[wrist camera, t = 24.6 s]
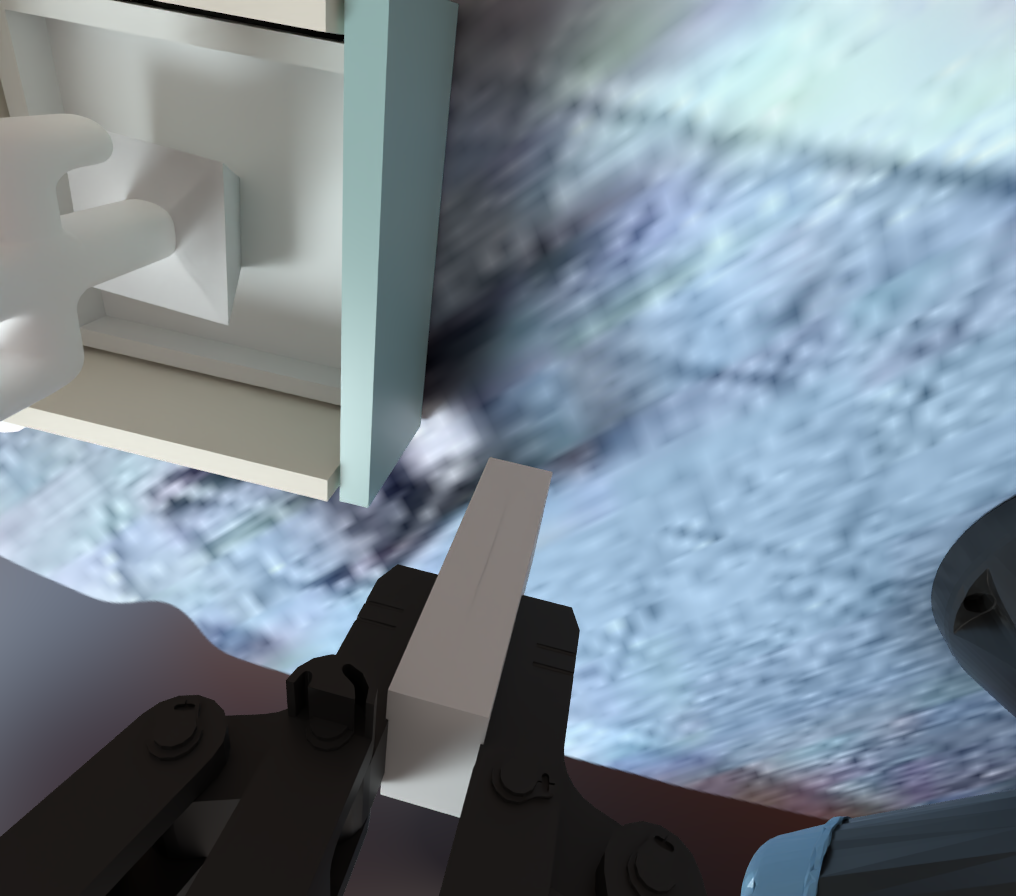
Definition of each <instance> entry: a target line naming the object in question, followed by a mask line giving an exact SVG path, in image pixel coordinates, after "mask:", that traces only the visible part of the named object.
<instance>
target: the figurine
mask: <svg viewBox="0 0 1016 896" xmlns="http://www.w3.org/2000/svg"><path fill="white" fill-rule="evenodd" d="M65 173H68V179H69V185H70V191H71V198H72V204H73V210H74V212H73V213H69V214H65V215H61V216H60V212H59V206H58V201H57V195H56V185H57V182H58V181H59V179H60V178H61V177H62V176H63V175H64V174H65ZM240 271H241V228H240V182H239V177H238V176H237V175H236V174H235V173H234V172H232V171H231V170H230V169H229V168H228V167H227V166H226V165H225V164H224V163H222V162H219V161H215V160H211V159H208V158H204V157H200V156H197V155H193V154H190V153H186V152H182V151H179V150H175V149H171V148H168V147H164V146H160V145H157V144H153V143H149V142H146V141H142V140H138V139H135V138H131V137H127V136H124V135H120V134H116V133H113V132H109V131H106V130H105V129H104V128H103V127H102V126H101V125H99V124H98V123H96V122H95V121H93V120H91V119H89V118H86V117H83V116H79V115H75V114H48V115H34V116H20V117H6V118H0V422H1V421H3V420H5V419H7V418H9V417H10V416H12V415H14V414H16V413H18V412H20V411H21V410H23V409H25V408H27V407H29V406H31V405H32V404H34V403H36V402H38V401H40V400H42V399H44V398H45V397H47V396H49V395H51V394H53V393H54V392H56V391H58V390H59V389H61V388H63V387H64V386H66V385H67V384H68V383H70V382H71V381H72V380H73V379H74V378H75V377H76V376H77V375H78V374H79V372H80V371H81V369H82V367H83V363H84V349H83V344H82V338H81V332H80V326H79V321H78V315H77V303H78V300H79V299H80V297H81V295H82V294H83V293H84V292H85V291H86V290H87V289H88V288H90V287H94V288H98V289H101V290H105V291H108V292H112V293H115V294H119V295H122V296H126V297H129V298H133V299H136V300H140V301H143V302H147V303H150V304H154V305H157V306H161V307H164V308H168V309H171V310H175V311H178V312H182V313H185V314H189V315H192V316H196V317H199V318H203V319H206V320H210V321H213V322H217V323H220V324H224V325H228V326H229V321H230V317H231V312H232V307H233V303H234V298H235V294H236V289H237V285H238V280H239V276H240Z"/></svg>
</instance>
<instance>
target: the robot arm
mask: <svg viewBox="0 0 1016 896" xmlns="http://www.w3.org/2000/svg"><path fill="white" fill-rule="evenodd" d="M551 477H552V472H550V471H546V470H541V469H537V468H533V467H529V466H524V465H520V464H516V463H512V462H508V461H503V460H499V459H495V458H491V457H490V458H489V460H488V462H487V464H486V467H485V469H484V471H483V474H482V476H481V478H480V480H479V483H478V485H477V487H476V490H475V492H474V494H473V496H472V499H471V501H470V503H469V506H468V508H467V510H466V513H465V515H464V517H463V519H462V522H461V524H460V526H459V529H458V531H457V533H456V535H455V538H454V540H453V542H452V545H451V547H450V549H449V551H448V554H447V556H446V558H445V561H444V563H443V565H442V567H441V570H440V572H439V574H438V575H437V574H433V573H429V572H425V571H421V570H417V569H414V568H410V567H406V566H402V565H398V564H397V565H396V566H395V567H393V568H392V569H391V570H390V571H388V572H387V573H386V574H384V575H383V576H382V577H380V578H379V579H378V580H377V582H376V584H375V585H374V587H373V589H372V591H371V593H370V594H369V596H368V598H367V601H366V604H364V605H363V607H362V609H361V611H360V613H359V614H358V616H357V620H356V621H355V622H354V623H353V625H352V627H351V629H350V631H349V632H348V634H347V636H346V638H345V640H344V641H343V643H342V645H341V647H340V649H339V650H338V652H337V654H336V655H333V654H331V655H326V656H322V657H317V658H313V659H311V660H310V661H308V662H306V663H304V664H303V665H301V666H299V667H298V668H297V669H296V670H295V671H294V672H293V673H292V674H291V675H290V676H289V678H288V679H287V680H286V689H287V704H288V709H286V710H283V711H280V712H276V713H269V714H258V715H236V716H235V715H234V716H225V713H224V710H223V709H222V708H221V707H220V706H219V705H218V704H217V703H216V702H215V701H214V700H211V699H209V698H206V697H202V696H200V695H189V696H188V695H187V696H177V697H174V698H171V699H168V700H166V701H163V702H160V703H158V704H157V705H155V706H154V707H152V708H151V709H149V710H148V711H146V712H145V713H143V714H142V715H141V716H139V717H138V718H137V719H136V720H135V721H134V722H133V723H131V724H130V725H129V726H128V727H127V728H126V729H124V730H123V731H122V732H121V733H120V734H119V735H117V736H116V737H115V738H114V739H113V740H112V741H111V742H109V743H108V744H107V745H106V746H105V747H104V748H102V749H101V750H100V751H99V752H98V753H97V754H96V755H94V756H93V757H92V758H91V759H90V760H89V761H87V762H86V763H85V764H84V765H83V766H82V767H81V768H79V769H78V770H77V771H76V772H75V773H74V774H72V775H71V776H70V777H69V778H68V779H67V780H66V781H64V782H63V783H62V784H61V785H60V786H59V787H58V788H56V789H55V790H54V791H53V792H52V793H50V794H49V795H48V796H47V797H46V798H45V799H44V800H42V801H41V802H40V803H39V804H38V805H37V806H35V807H34V808H33V809H32V810H31V811H30V812H29V813H27V814H26V815H25V816H24V817H23V818H22V819H20V820H19V821H18V822H17V823H16V824H15V825H13V826H12V827H11V828H10V829H9V830H8V831H7V832H5V833H4V834H3V835H2V836H1V837H0V896H343V894H344V892H345V889H346V887H347V884H348V881H349V879H350V876H351V874H352V871H353V868H354V865H355V863H356V860H357V858H358V855H359V852H360V850H361V847H362V845H363V842H364V839H365V836H366V834H367V831H368V825H369V819H370V810H371V807H372V804H373V802H374V799H375V796H376V794H377V791H378V789H379V786H380V784H381V793H380V794H381V795H385V796H388V797H392V798H395V799H398V800H402V801H405V802H409V803H412V804H416V805H419V806H422V807H426V808H430V809H433V810H436V811H439V812H443V813H446V814H450V815H453V816H456V817H460V819H459V823H458V826H457V830H456V834H455V838H454V842H453V845H452V849H451V853H450V857H449V860H448V864H447V868H446V872H445V876H444V879H443V883H442V887H441V890H440V894H439V896H707V894H706V890H705V887H704V883H703V879H702V875H701V873H700V871H699V868H698V866H697V864H696V862H695V859H694V857H693V855H692V853H691V852H690V851H689V850H688V848H687V847H686V846H685V845H684V844H683V842H682V841H681V840H680V839H679V838H678V837H677V836H676V835H674V834H672V833H671V832H669V831H668V830H667V829H665V828H663V827H662V826H660V825H656V824H652V823H648V822H644V821H641V822H635V823H629V824H625V825H624V826H621V825H620V824H619V823H617V822H616V821H614V820H613V819H611V818H610V817H608V816H607V815H605V814H604V813H602V812H601V811H599V810H598V809H596V808H595V807H594V806H592V805H591V804H590V803H589V802H588V801H587V800H585V799H584V798H583V797H582V796H581V794H580V793H579V792H578V791H577V789H576V788H575V787H574V785H573V783H572V781H571V779H570V778H569V775H568V774H567V770H566V766H565V762H564V743H565V736H566V728H567V721H568V714H569V706H570V699H571V691H572V684H573V674H574V669H575V661H576V654H577V646H578V639H579V631H580V630H579V627H578V624H577V621H576V618H575V615H574V613H573V610H572V607H568V606H564V605H560V604H556V603H552V602H548V601H544V600H540V599H537V598H533V597H529V596H525V595H524V593H525V589H526V585H527V581H528V577H529V573H530V569H531V565H532V561H533V556H534V552H535V548H536V543H537V539H538V534H539V530H540V525H541V521H542V517H543V512H544V508H545V503H546V499H547V494H548V490H549V486H550V481H551ZM931 603H932V611H933V615H934V618H935V621H936V624H937V626H938V628H939V630H940V632H941V634H942V635H943V637H944V639H945V641H946V643H947V645H948V647H949V649H950V650H951V652H952V654H953V656H954V657H955V659H956V660H957V661H958V663H959V664H960V665H961V666H962V668H963V669H964V670H965V671H966V672H967V673H968V674H969V675H970V676H971V677H972V678H973V679H974V680H975V681H976V682H977V683H978V684H979V685H980V686H982V687H983V688H984V689H985V690H986V691H987V692H988V693H989V694H990V695H991V696H993V697H994V698H995V699H996V700H997V701H998V702H999V703H1000V704H1001V705H1002V706H1004V707H1005V708H1006V709H1007V710H1008V711H1009V712H1010V713H1011V714H1012V715H1013V716H1015V717H1016V497H1015V498H1013V499H1012V500H1010V501H1008V502H1006V503H1004V504H1003V505H1001V506H999V507H998V508H996V509H995V510H993V511H991V512H990V513H989V514H987V515H986V516H984V517H983V518H981V519H980V520H979V521H978V522H977V523H975V524H974V525H973V526H972V527H971V528H969V529H968V530H967V531H966V532H965V533H964V534H963V535H962V536H961V537H960V538H959V539H958V540H957V541H956V543H955V544H954V545H953V546H952V548H951V549H950V550H949V552H948V553H947V554H946V556H945V558H944V559H943V561H942V563H941V564H940V567H939V569H938V571H937V573H936V576H935V579H934V583H933V587H932V594H931ZM741 896H1016V789H1011V790H1006V791H1000V792H995V793H989V794H984V795H978V796H973V797H967V798H962V799H956V800H951V801H945V802H940V803H934V804H929V805H923V806H918V807H912V808H907V809H901V810H895V811H890V812H884V813H879V814H873V815H868V816H862V817H857V818H850V817H841V816H840V817H833V818H832V819H830V820H829V821H828V822H827V823H826V824H824V825H820V826H816V827H812V828H808V829H804V830H799V831H795V832H791V833H788V834H783V835H779V836H776V837H774V838H772V839H770V840H769V841H767V842H766V843H764V844H763V845H762V846H761V847H760V848H759V849H758V851H757V852H756V853H755V855H754V856H753V858H752V860H751V862H750V864H749V866H748V868H747V871H746V874H745V877H744V881H743V884H742V891H741Z"/></svg>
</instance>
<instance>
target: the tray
mask: <svg viewBox="0 0 1016 896" xmlns="http://www.w3.org/2000/svg"><path fill="white" fill-rule="evenodd" d="M458 5H459V4H457V3H454V2H452V1H449V0H345V11H344V41H339V40H334V39H329V38H323V37H318V36H313V35H307V34H302V33H297V32H291V31H286V30H281V29H275V28H270V27H264V26H259V25H254V24H248V23H243V22H238V21H232V20H227V19H222V18H216V17H211V16H206V15H200V14H195V13H190V12H184V11H179V10H174V9H168V8H163V7H158V6H152V5H147V4H142V3H136V2H131V1H125V0H0V78H1V82H2V86H3V90H4V94H5V99H6V103H7V107H8V111H9V115H10V117H20V116H34V115H48V114H75V115H79V116H83V117H86V118H89V119H91V120H93V121H95V122H96V123H98V124H99V125H101V126H102V127H103V128H104V129H105V130H106V131H109V132H113V133H116V134H120V135H124V136H127V137H131V138H135V139H138V140H142V141H146V142H149V143H153V144H157V145H160V146H164V147H168V148H171V149H175V150H179V151H182V152H186V153H190V154H193V155H197V156H200V157H204V158H208V159H211V160H215V161H219V162H222V163H224V164H225V165H226V166H227V167H228V168H229V169H230V170H231V171H232V172H234V173H235V174H236V175H237V176H238V177H239V182H240V228H241V271H240V276H239V280H238V285H237V289H236V294H235V298H234V303H233V307H232V312H231V317H230V321H229V326H228V325H224V324H220V323H217V322H213V321H210V320H206V319H203V318H199V317H196V316H192V315H189V314H185V313H182V312H178V311H175V310H171V309H168V308H164V307H161V306H157V305H154V304H150V303H147V302H143V301H140V300H136V299H133V298H129V297H126V296H122V295H119V294H115V293H112V292H108V291H105V290H101V289H98V288H94V287H90V288H88V289H87V290H86V291H85V292H84V293H83V294H82V295H81V297H80V299H79V300H78V303H77V315H78V321H79V326H80V332H81V338H82V344H83V345H84V346H89V347H93V348H97V349H101V350H106V351H110V352H114V353H118V354H123V355H127V356H131V357H135V358H140V359H144V360H148V361H153V362H157V363H161V364H165V365H170V366H174V367H178V368H182V369H187V370H191V371H195V372H200V373H204V374H208V375H212V376H217V377H221V378H225V379H229V380H234V381H238V382H242V383H246V384H251V385H255V386H259V387H264V388H268V389H272V390H276V391H281V392H285V393H289V394H293V395H298V396H302V397H306V398H310V399H315V400H319V401H323V402H328V403H332V404H336V405H340V406H341V422H340V501H342V502H346V503H350V504H354V505H358V506H363V507H367V508H368V507H369V506H370V504H371V503H372V501H373V500H374V498H375V496H376V495H377V493H378V492H379V490H380V489H381V487H382V485H383V484H384V482H385V481H386V479H387V478H388V476H389V474H390V473H391V471H392V470H393V468H394V467H395V465H396V463H397V462H398V460H399V459H400V457H401V456H402V454H403V452H404V451H405V449H406V448H407V446H408V445H409V443H410V441H411V440H412V438H413V437H414V435H415V434H416V432H417V430H418V429H419V427H420V424H421V413H422V402H423V391H424V380H425V369H426V358H427V347H428V336H429V325H430V314H431V303H432V292H433V281H434V270H435V259H436V248H437V237H438V226H439V215H440V204H441V193H442V182H443V171H444V160H445V149H446V138H447V127H448V116H449V105H450V94H451V83H452V72H453V61H454V50H455V38H456V27H457V16H458ZM56 195H57V201H58V206H59V212H60V216H61V215H65V214H69V213H73V212H74V210H73V204H72V198H71V191H70V185H69V179H68V173H65V174H64V175H63V176H62V177H61V178H60V179H59V181H58V182H57V185H56Z"/></svg>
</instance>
